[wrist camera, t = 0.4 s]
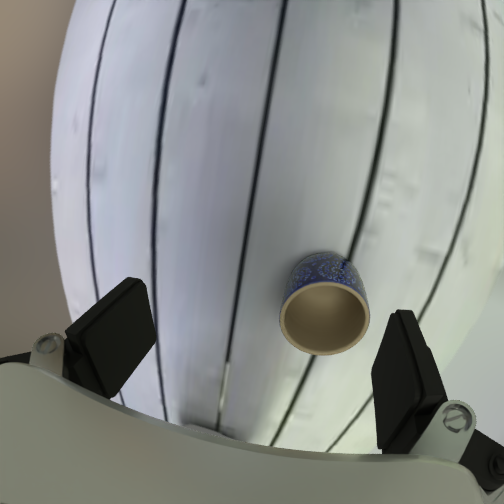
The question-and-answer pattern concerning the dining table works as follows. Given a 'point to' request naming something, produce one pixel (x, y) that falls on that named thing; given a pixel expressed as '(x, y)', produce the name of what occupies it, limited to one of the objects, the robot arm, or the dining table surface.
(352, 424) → the dining table surface
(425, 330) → the dining table surface
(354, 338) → the planter
